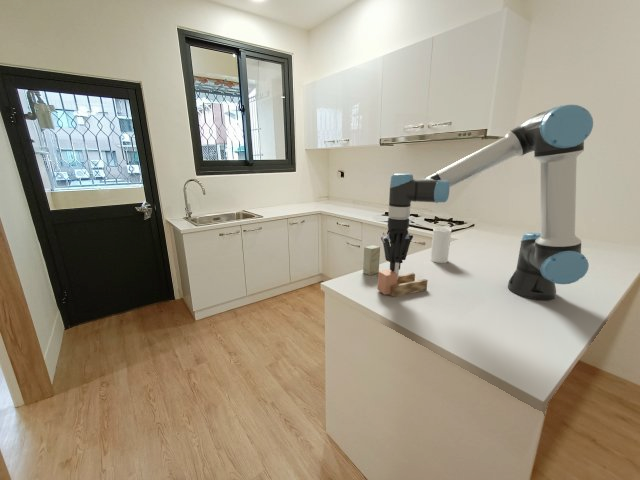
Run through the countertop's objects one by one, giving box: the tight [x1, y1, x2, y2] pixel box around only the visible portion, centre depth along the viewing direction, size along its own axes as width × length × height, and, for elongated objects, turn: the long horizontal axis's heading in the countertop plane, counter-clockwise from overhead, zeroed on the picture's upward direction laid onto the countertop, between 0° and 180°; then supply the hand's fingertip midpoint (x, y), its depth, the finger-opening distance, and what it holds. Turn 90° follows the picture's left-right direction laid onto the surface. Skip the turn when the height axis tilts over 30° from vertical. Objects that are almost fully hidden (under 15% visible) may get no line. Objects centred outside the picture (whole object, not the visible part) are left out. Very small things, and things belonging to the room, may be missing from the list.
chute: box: [388, 272, 428, 298], centre depth 115 cm, size 16×8×4 cm, turn 113°
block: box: [377, 268, 399, 295], centre depth 112 cm, size 5×5×8 cm
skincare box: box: [362, 244, 381, 276], centre depth 131 cm, size 6×4×12 cm
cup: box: [430, 227, 452, 264], centre depth 147 cm, size 8×8×16 cm
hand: (394, 278), depth 113 cm, fingers closed
